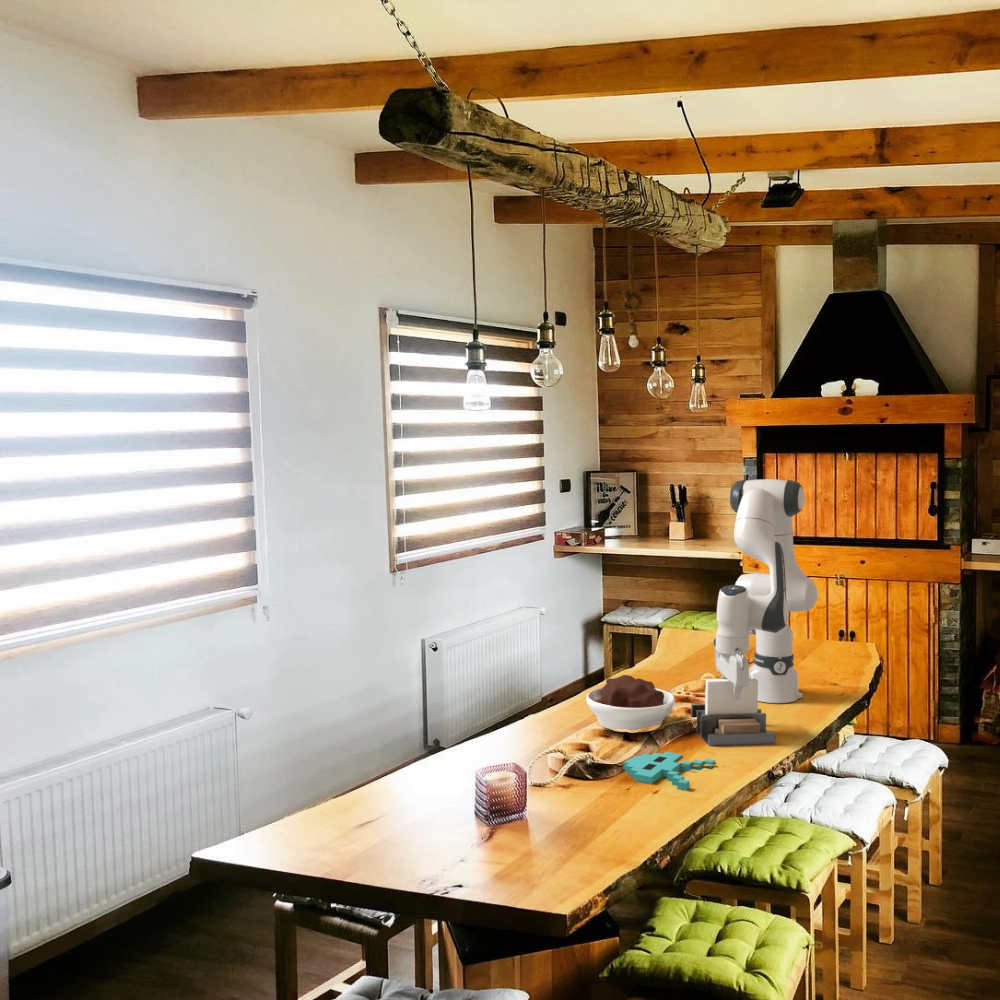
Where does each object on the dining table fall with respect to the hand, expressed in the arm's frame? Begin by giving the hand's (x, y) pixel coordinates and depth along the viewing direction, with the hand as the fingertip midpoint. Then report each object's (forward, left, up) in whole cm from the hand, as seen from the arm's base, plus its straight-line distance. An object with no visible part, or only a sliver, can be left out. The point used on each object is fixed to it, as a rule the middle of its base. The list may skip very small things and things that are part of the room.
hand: (731, 694), depth 303 cm
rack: (+1, 0, -12) cm, 12 cm away
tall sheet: (0, 0, -11) cm, 11 cm away
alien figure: (+26, -25, -13) cm, 38 cm away
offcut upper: (+6, 0, -8) cm, 10 cm away
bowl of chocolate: (-10, -26, -12) cm, 31 cm away
